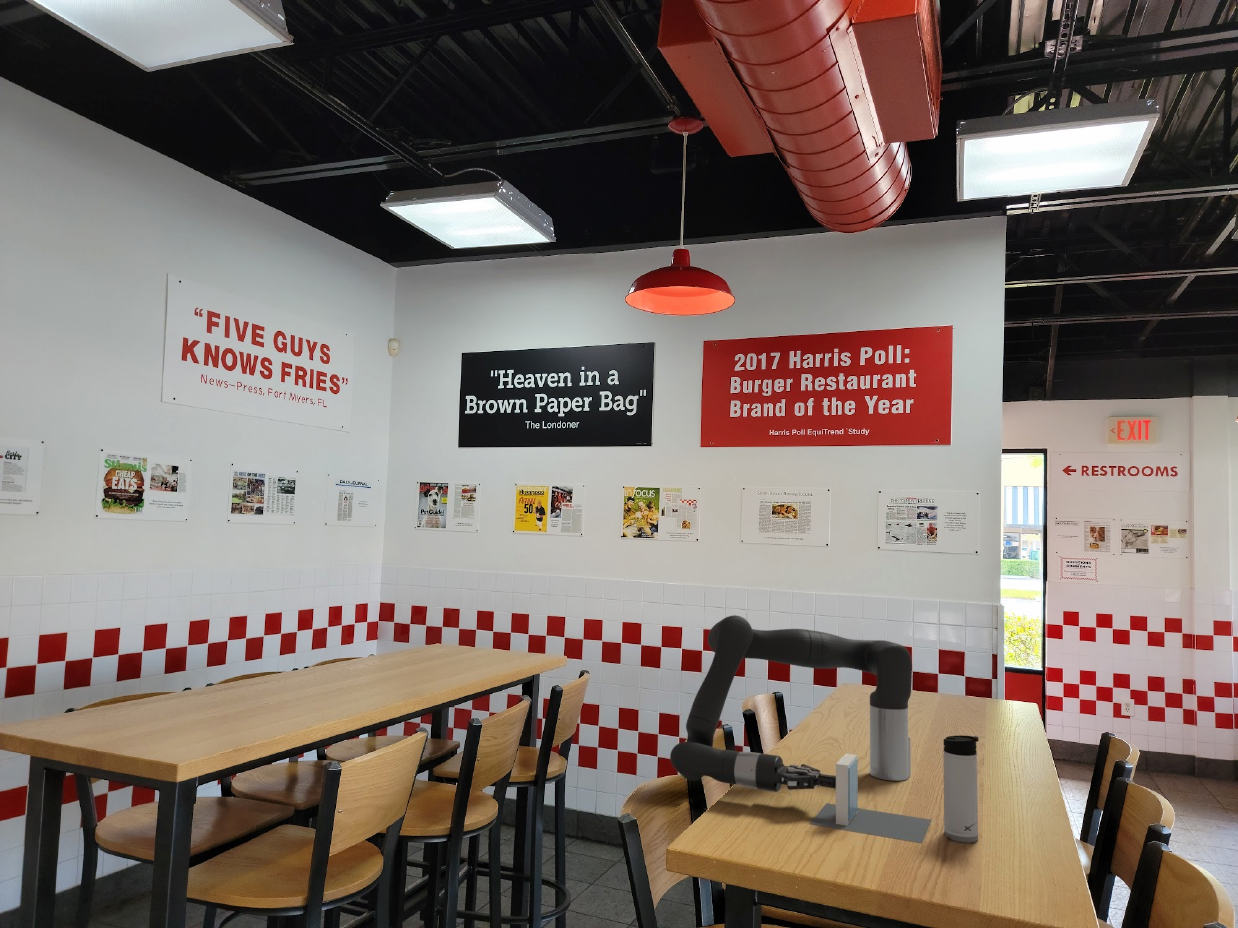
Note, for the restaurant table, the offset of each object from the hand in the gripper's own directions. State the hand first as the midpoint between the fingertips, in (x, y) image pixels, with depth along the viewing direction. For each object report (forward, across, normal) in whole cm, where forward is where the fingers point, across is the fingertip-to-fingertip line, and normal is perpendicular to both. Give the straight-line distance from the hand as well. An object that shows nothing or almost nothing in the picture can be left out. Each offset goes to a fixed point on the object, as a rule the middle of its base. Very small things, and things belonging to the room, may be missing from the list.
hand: (837, 782), depth 180 cm
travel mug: (+24, +1, +8) cm, 26 cm away
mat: (+7, 0, +8) cm, 10 cm away
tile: (+2, 0, +7) cm, 7 cm away
